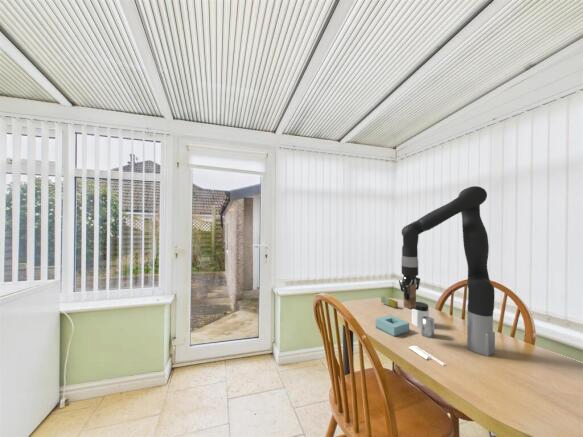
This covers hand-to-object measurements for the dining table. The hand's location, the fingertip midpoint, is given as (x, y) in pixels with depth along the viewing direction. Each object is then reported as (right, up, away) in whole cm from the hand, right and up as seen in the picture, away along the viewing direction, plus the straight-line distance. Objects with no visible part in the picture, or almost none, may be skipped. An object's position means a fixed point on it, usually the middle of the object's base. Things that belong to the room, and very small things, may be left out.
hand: (409, 299), depth 119 cm
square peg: (0, -4, 0) cm, 4 cm away
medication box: (+10, -21, +48) cm, 53 cm away
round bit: (+11, -21, +4) cm, 24 cm away
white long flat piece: (-2, -21, -16) cm, 27 cm away
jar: (+15, -21, +17) cm, 31 cm away
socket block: (-4, -20, +10) cm, 23 cm away
